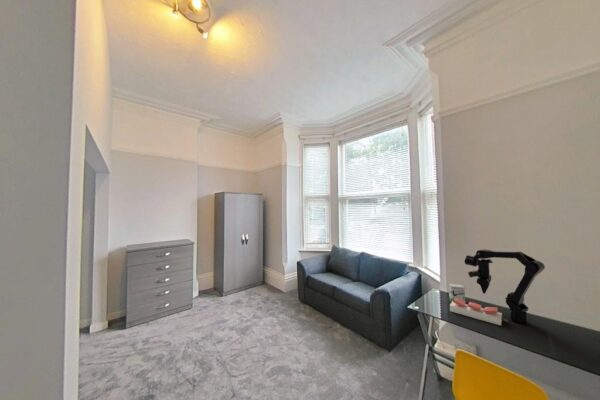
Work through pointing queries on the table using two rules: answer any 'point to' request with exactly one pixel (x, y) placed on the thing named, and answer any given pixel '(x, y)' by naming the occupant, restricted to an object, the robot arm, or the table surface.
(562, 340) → the table surface
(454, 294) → the ink box
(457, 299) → the rocker
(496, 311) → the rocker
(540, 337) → the table surface
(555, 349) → the table surface
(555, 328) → the table surface
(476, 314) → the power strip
